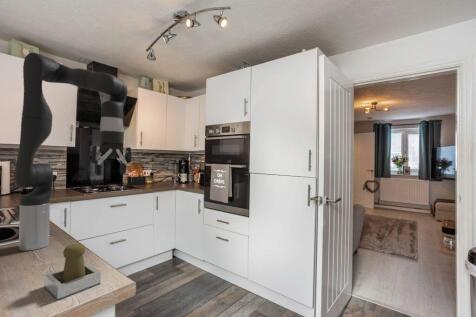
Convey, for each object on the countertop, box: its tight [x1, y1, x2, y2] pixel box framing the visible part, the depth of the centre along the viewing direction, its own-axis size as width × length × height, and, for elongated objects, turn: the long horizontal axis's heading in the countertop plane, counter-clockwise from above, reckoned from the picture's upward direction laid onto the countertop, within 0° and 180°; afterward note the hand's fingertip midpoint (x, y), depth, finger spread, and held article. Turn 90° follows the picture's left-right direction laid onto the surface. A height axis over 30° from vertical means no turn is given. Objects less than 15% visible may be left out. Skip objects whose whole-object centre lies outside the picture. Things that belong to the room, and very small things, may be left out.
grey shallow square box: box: [43, 261, 102, 302], centre depth 68 cm, size 10×10×3 cm
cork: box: [61, 242, 86, 284], centre depth 69 cm, size 6×6×11 cm
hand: (111, 174), depth 88 cm, fingers open, 8 cm apart
